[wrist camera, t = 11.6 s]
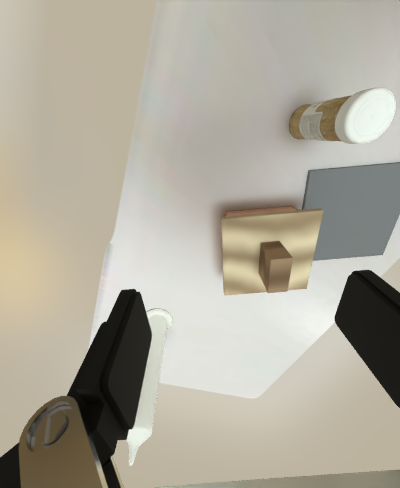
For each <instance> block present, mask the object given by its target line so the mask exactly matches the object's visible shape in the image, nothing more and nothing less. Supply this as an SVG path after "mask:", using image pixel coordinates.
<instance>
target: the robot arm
mask: <svg viewBox="0 0 400 488" xmlns="http://www.w3.org/2000/svg"><path fill="white" fill-rule="evenodd" d="M335 322H336V324H337V326H338V327H339V328H340V330H341V331H342V333H343V334H344V335H345V337H346V338H347V339H348V341H349V342H350V343H351V345H352V346H353V347H354V349H355V350H356V351H357V353H358V354H359V356H360V357H361V358H362V359H363V361H364V362H365V363H366V365H367V366H368V368H369V369H370V370H371V371H372V373H373V374H374V376H375V377H376V378H377V380H378V381H379V382H380V384H381V385H382V386H383V388H384V389H385V390H386V392H387V393H388V394H389V396H390V397H391V398H392V400H393V401H394V403H395V404H396V405H397V406H398V407H399V408H400V293H399V292H398V291H397V290H395V289H394V288H393V287H392V286H390V285H389V284H388V283H386V282H385V281H384V280H383V279H381V278H380V277H379V276H378V275H376V274H375V273H374V272H372V271H370V270H361V271H354V272H352V274H351V275H349V277H348V279H347V282H346V285H345V288H344V291H343V294H342V297H341V300H340V303H339V306H338V309H337V311H336V314H335ZM151 340H152V331H151V327H150V324H149V321H148V317H147V314H146V310H145V307H144V304H143V300H142V297H141V294H140V292H136V290H135V289H129V290H122V291H121V292H120V294H119V296H118V298H117V300H116V303H115V305H114V307H113V309H112V311H111V313H110V316H109V318H108V320H107V322H103V323H102V324H101V326H100V328H99V330H98V332H97V334H96V336H95V338H94V340H93V342H92V344H91V346H90V348H89V350H88V353H87V355H86V357H85V359H84V361H83V363H82V365H81V367H80V369H79V371H78V374H77V376H76V377H75V380H74V382H73V384H72V386H71V388H70V390H69V392H68V394H67V396H60V397H57V398H54V399H52V400H51V401H49V402H47V403H46V404H44V405H43V406H42V407H41V408H40V409H38V410H37V411H36V413H35V414H34V415H33V416H32V417H31V418H30V420H29V421H28V423H27V424H26V426H25V427H24V429H23V432H22V434H21V437H20V441H19V443H18V444H16V445H15V446H14V447H13V448H12V449H10V450H9V451H8V452H7V453H5V454H4V455H3V456H2V457H0V488H124V486H123V483H122V481H121V478H120V475H119V472H118V470H117V467H116V464H115V462H114V459H113V456H112V455H113V454H114V452H115V448H116V444H117V440H127V436H128V432H129V429H133V427H134V424H135V419H136V414H137V410H138V405H139V400H140V395H141V390H142V385H143V380H144V375H145V370H146V365H147V360H148V355H149V350H150V345H151ZM157 488H400V470H388V471H372V472H358V473H343V474H328V475H314V476H299V477H284V478H270V479H256V480H242V481H229V482H215V483H201V484H188V485H178V486H167V487H157Z"/></svg>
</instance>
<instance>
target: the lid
mask: <svg viewBox="0 0 400 488" xmlns="http://www.w3.org/2000/svg"><path fill="white" fill-rule="evenodd" d="M323 211H324V210H322V209H320V208H316V209H305V210H294V211H283V212H271V213H260V214H249V215H238V216H227V217H221V230H222V257H223V285H224V295H236V294H248V293H260V292H268V293H274V292H286V291H288V290H296V289H307V284H308V279H309V275H310V270H311V266H312V261H313V256H314V252H315V247H316V243H317V238H318V234H319V229H320V224H321V220H322V215H323Z"/></svg>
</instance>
